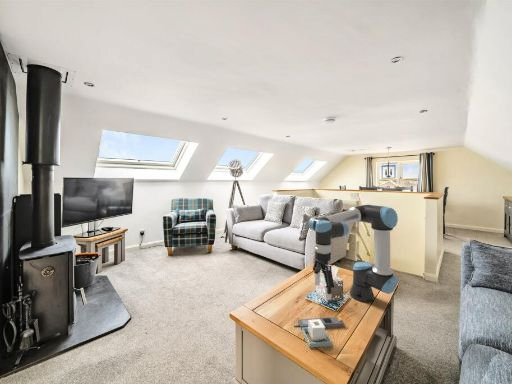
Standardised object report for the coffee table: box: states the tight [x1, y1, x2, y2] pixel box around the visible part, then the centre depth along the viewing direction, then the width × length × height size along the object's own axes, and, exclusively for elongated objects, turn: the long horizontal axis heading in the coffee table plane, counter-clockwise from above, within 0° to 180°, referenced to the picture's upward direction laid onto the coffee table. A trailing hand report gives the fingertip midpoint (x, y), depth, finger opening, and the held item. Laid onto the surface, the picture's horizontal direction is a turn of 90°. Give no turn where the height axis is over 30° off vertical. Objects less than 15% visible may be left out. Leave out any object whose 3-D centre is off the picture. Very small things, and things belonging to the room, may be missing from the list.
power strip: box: [293, 316, 345, 331], centre depth 121 cm, size 27×5×4 cm, turn 97°
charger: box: [308, 319, 326, 342], centre depth 111 cm, size 6×6×8 cm
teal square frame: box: [301, 327, 333, 349], centre depth 111 cm, size 11×11×3 cm
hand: (322, 291), depth 113 cm, fingers open, 13 cm apart
